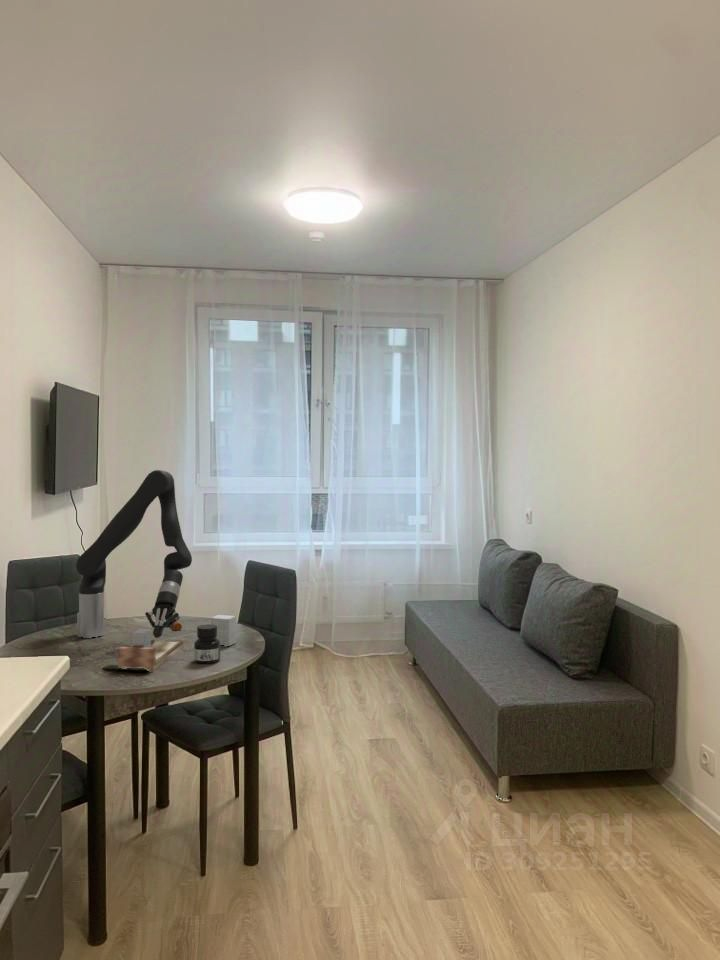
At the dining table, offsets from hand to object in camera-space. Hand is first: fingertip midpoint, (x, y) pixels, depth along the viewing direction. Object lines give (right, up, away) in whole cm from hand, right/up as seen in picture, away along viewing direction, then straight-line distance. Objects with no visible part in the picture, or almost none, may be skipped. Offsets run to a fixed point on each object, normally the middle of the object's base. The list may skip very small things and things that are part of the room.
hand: (156, 636), depth 257 cm
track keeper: (-1, -5, -14) cm, 15 cm away
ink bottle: (+20, -7, -7) cm, 22 cm away
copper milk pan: (0, -7, -4) cm, 8 cm away
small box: (+21, -6, +15) cm, 27 cm away
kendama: (-6, -5, +45) cm, 45 cm away
